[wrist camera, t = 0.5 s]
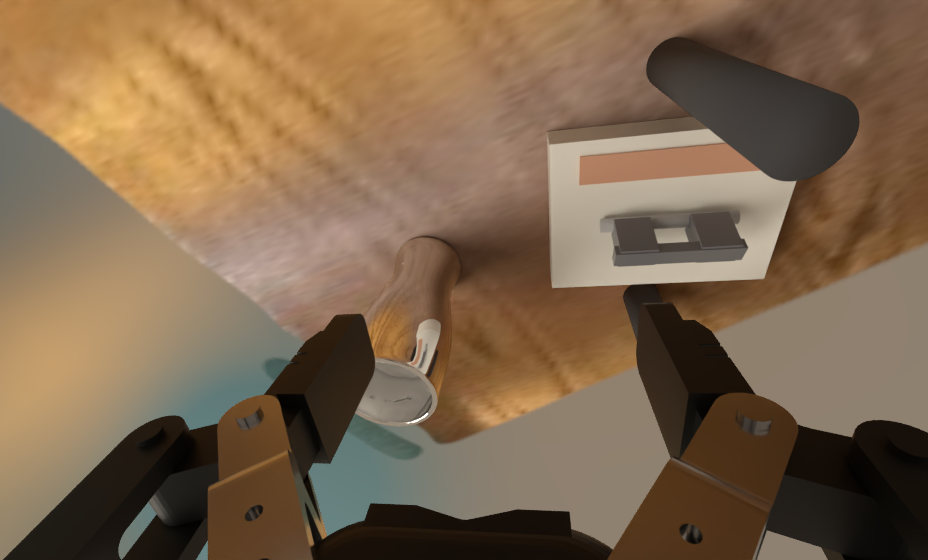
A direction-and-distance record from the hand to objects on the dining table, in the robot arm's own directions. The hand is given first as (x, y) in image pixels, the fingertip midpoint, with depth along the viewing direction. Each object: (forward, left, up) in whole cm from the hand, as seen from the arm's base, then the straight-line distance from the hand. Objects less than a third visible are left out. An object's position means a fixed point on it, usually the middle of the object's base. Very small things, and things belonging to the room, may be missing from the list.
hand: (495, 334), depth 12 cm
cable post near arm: (-3, +11, -23) cm, 25 cm away
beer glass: (+12, -8, -23) cm, 27 cm away
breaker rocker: (+7, +11, -19) cm, 23 cm away
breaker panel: (+7, +11, -23) cm, 26 cm away
